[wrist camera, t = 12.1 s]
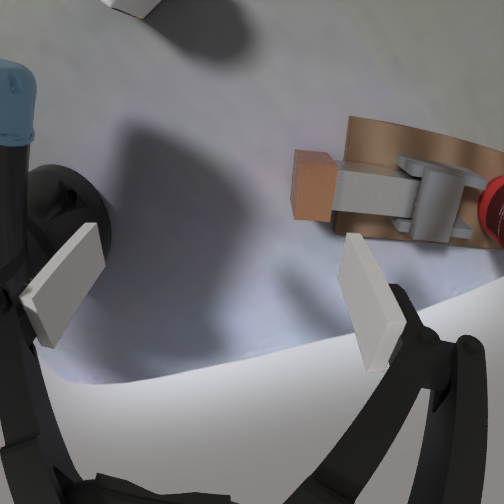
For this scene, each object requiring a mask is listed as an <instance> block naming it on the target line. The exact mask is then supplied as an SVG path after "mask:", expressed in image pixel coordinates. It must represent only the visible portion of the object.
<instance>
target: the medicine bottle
mask: <svg viewBox="0 0 504 504" xmlns="http://www.w3.org/2000/svg"><path fill="white" fill-rule="evenodd" d="M100 1H101V2H103V3H104V4H105V5H107V6H108V7H109V8H112V9H115V10H118V11H120V12H123V13H126V14H128V15H131V16H133V17H136V18H138V19H143V18H145V16H146V15H147V14H148V13H149V12H150V11H151V10H152V9H153V8H154V7H155V6H156V5H157V4H158V3H159V2H160V1H161V0H100Z"/></svg>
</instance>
